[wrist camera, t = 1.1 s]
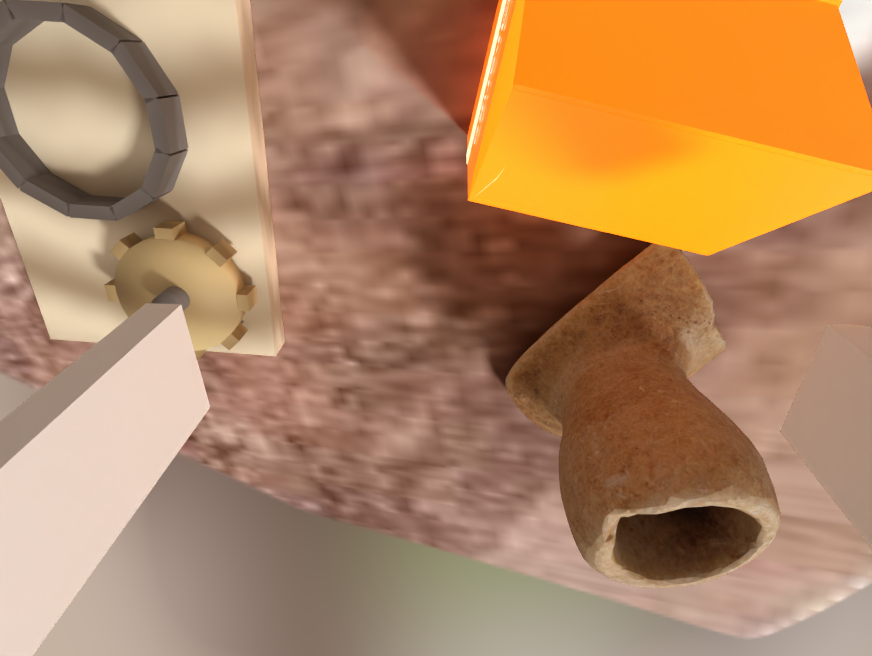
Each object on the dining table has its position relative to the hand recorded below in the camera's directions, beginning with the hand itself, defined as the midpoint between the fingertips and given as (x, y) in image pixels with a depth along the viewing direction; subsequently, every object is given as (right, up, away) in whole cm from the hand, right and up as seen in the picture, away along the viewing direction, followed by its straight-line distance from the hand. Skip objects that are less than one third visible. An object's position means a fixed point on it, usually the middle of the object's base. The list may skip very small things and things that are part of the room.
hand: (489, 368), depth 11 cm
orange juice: (+6, +14, +17) cm, 23 cm away
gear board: (-20, +10, +21) cm, 31 cm away
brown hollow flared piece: (+12, -1, +25) cm, 28 cm away
